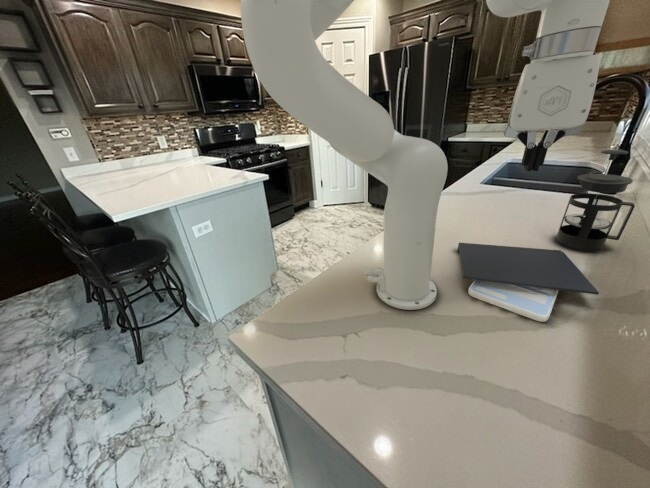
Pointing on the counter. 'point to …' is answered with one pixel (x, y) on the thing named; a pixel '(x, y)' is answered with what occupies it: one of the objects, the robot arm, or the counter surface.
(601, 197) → the french press
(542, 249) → the hinge strip
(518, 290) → the calculator
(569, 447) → the counter surface
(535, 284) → the cover
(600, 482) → the counter surface
